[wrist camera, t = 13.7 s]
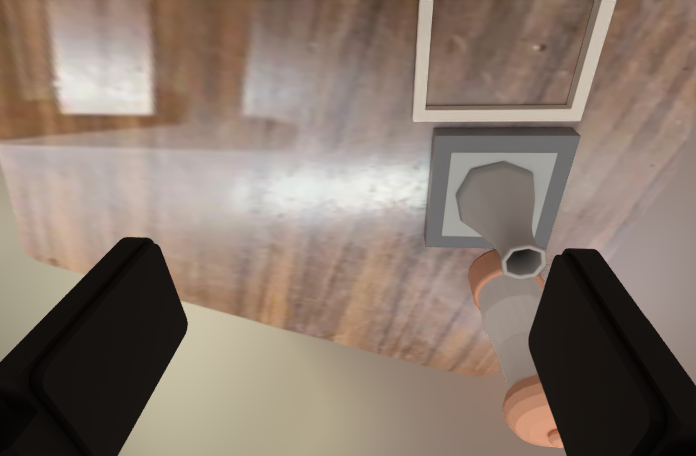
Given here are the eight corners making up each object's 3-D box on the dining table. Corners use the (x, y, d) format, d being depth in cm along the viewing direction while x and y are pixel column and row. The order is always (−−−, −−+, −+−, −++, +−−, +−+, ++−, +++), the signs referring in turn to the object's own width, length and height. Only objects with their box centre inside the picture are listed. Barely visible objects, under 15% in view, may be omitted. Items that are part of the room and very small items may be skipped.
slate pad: (433, 128, 36) (435, 136, 34) (571, 127, 35) (581, 136, 33) (424, 235, 43) (425, 247, 41) (539, 238, 41) (546, 250, 40)
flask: (545, 162, 35) (594, 225, 26) (523, 230, 39) (560, 303, 30) (462, 158, 35) (483, 218, 27) (449, 225, 39) (464, 296, 31)
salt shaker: (480, 242, 42) (534, 409, 27) (547, 254, 42) (639, 427, 27) (460, 291, 46) (495, 460, 31) (520, 301, 46) (587, 476, 31)
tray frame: (423, -79, 28) (424, -80, 27) (634, -90, 26) (643, -92, 25) (412, 117, 35) (412, 121, 34) (574, 116, 34) (580, 120, 33)
